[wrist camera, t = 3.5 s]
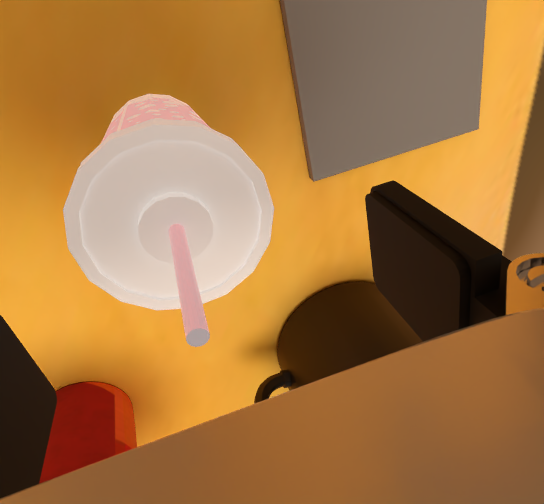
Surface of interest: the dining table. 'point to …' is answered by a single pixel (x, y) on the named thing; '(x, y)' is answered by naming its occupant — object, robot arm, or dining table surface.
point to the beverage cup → (168, 211)
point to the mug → (337, 335)
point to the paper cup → (88, 428)
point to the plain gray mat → (382, 76)
